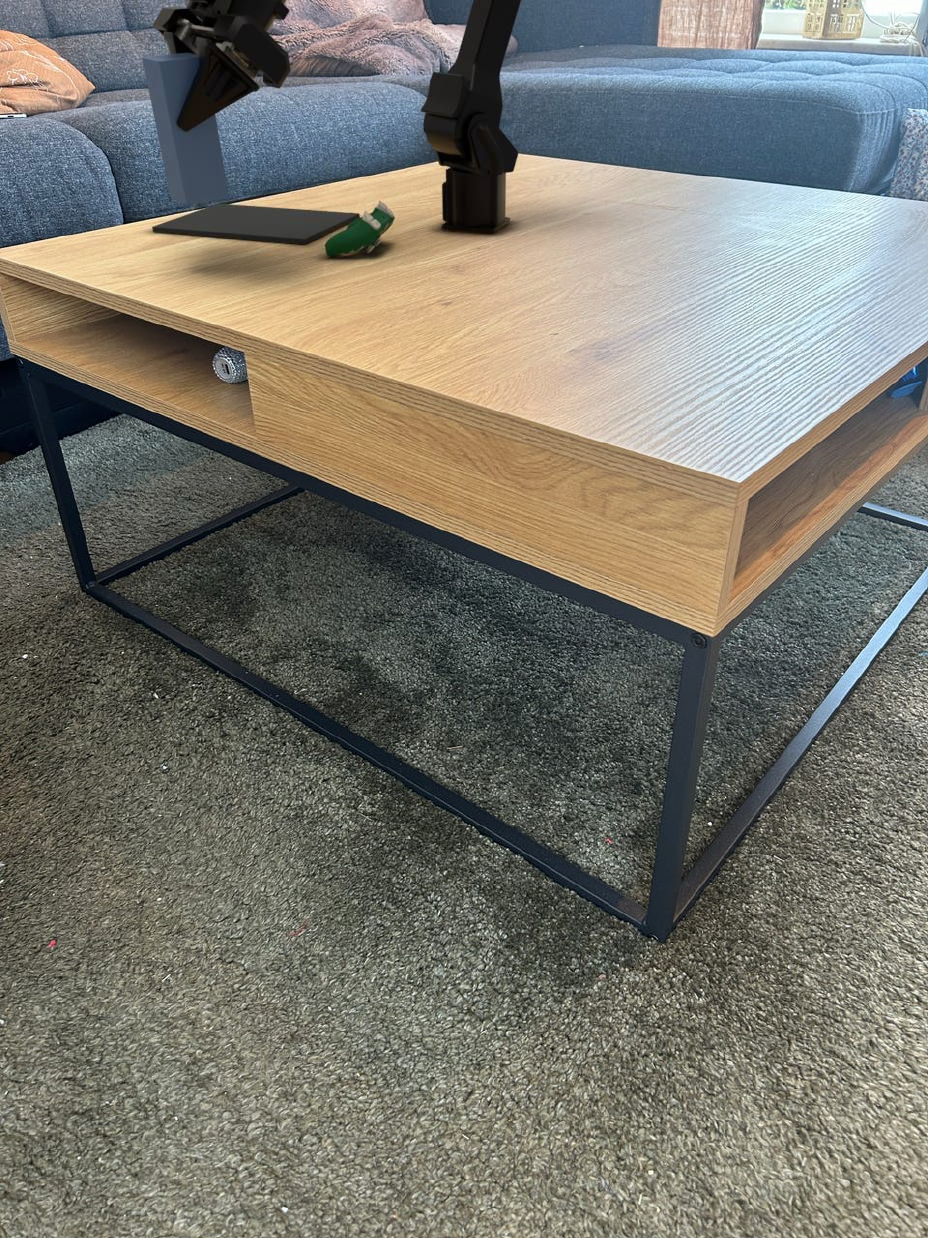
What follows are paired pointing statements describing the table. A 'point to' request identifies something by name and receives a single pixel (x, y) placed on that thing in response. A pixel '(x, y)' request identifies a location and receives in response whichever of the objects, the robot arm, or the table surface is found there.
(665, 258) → the table surface
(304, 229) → the mat
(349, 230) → the green toy shoe
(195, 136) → the blue block
